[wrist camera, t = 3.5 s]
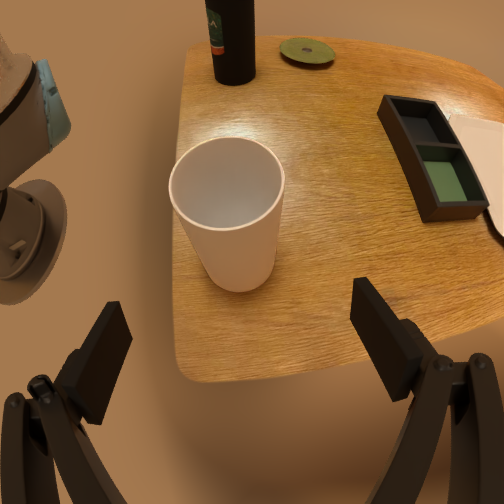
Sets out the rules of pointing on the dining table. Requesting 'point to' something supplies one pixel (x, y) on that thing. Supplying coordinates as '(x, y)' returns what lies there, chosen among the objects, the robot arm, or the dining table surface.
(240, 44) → the wine bottle
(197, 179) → the cup
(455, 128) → the plate
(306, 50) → the mat
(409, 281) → the dining table surface
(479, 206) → the holder
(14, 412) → the robot arm
